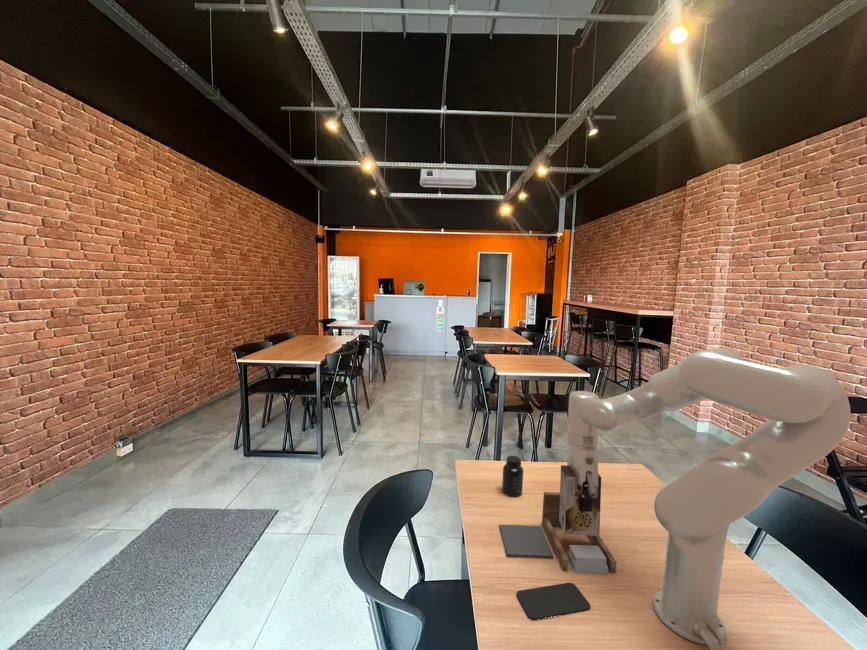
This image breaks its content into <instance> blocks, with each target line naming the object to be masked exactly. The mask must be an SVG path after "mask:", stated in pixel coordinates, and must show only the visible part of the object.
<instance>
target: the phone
mask: <svg viewBox="0 0 867 650" xmlns="http://www.w3.org/2000/svg"><path fill="white" fill-rule="evenodd" d="M515 595H516V599H517V600H518V602H519V605H520V606H521V608H522V610H523V612H524V613H525V615H526V617H527V618H528V619H529V620H530V619H531V621H532V620H536V621H538V620H537V619H542V620H544V619H543V618H545V617H546V618H547V617H551V616H552V617H553V616H557V615H558V616H557V617H560V616H559V615H562V616H566V614H567V615H571V613H572V614H576V613H581V612H582V613H583V612H587V611H590V610H591V604H590V603H589V601H588V600H587V599H586V597H585V596H584V595H583V593H582V592H581V590H580V589H579V588H578V587H577V585H576V584H574V583H572V582H565V583H559V584H552V585H551V584H550V585H545V586H540V587H533V588H527V589H521V590H517V592H516V594H515ZM553 618H554V617H553ZM547 619H548V618H547Z"/></svg>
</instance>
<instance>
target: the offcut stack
mask: <svg viewBox="0 0 867 650" xmlns="http://www.w3.org/2000/svg"><path fill="white" fill-rule="evenodd" d="M567 558H568V563H569V564H570V567H571V568H572V570H573V572H574V573H575V574H594V575H595V574H597V575H598V574H599V575H607V574H608V571H609V569H608V566H607V565H606V557H605V556H604V554H603V553H602V551H601V549H600V548H599V546H594V545H589V544H588V545H586V544H584V545H583V544H581V545H580V544H569V548H568V551H567Z"/></svg>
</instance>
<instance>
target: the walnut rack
mask: <svg viewBox="0 0 867 650" xmlns="http://www.w3.org/2000/svg"><path fill="white" fill-rule="evenodd" d="M542 503H543V504H542V519H541V525H542V527H543V528H542V529H544V530H543V531H544V532H545V534H546V536H547V537H546V538H548V541H549V543H550V545H551V547H552V550H553V552H554V554H555V555H554V556H556V559H557V561H558V564H559V566H560V568H561V570H562V572H563V571H565V572H567V571H568V570H569V560H568V555H567V554H566V552H565V550H564V548H563V545H562V544H561V542H560V539H559V538H558V535H557V533H556V531H555V530H554V528H562V526H561V524H560V521H559V512H560V491H559V492H556V491H555V492H554V491H553V492H552V491H544V492H543V502H542ZM587 536H588V538H589V540H590V541H591V543H592V544H593V545H592V546H599V548H600V549H601V551H602V553H603V554H604V556H605V557H606V565H607V566H608V571H609V573H611V574H612V573H613V574H615V573H616V569H617V560H616V559H615V557H614V555H613V554H612V553H611V551H610V550H609V548H608V546H607V545H606V544H605V542H604V540H603V539H602V538H601V536H600V535H599V536H590V535H587Z"/></svg>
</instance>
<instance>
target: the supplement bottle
mask: <svg viewBox="0 0 867 650" xmlns="http://www.w3.org/2000/svg"><path fill="white" fill-rule="evenodd" d="M501 480H502V483H501V491H502V493H503V494H504V495H505V494H506V495H505V496H507V495H508V497H511V498H518V497H520V496H521V495H522V494H523V483H524V468H523V467H522V459H521V458H520V457H518V456H516V455H508V456H507V457H506V462H505V464H504V465H503V467H502V479H501Z"/></svg>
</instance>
